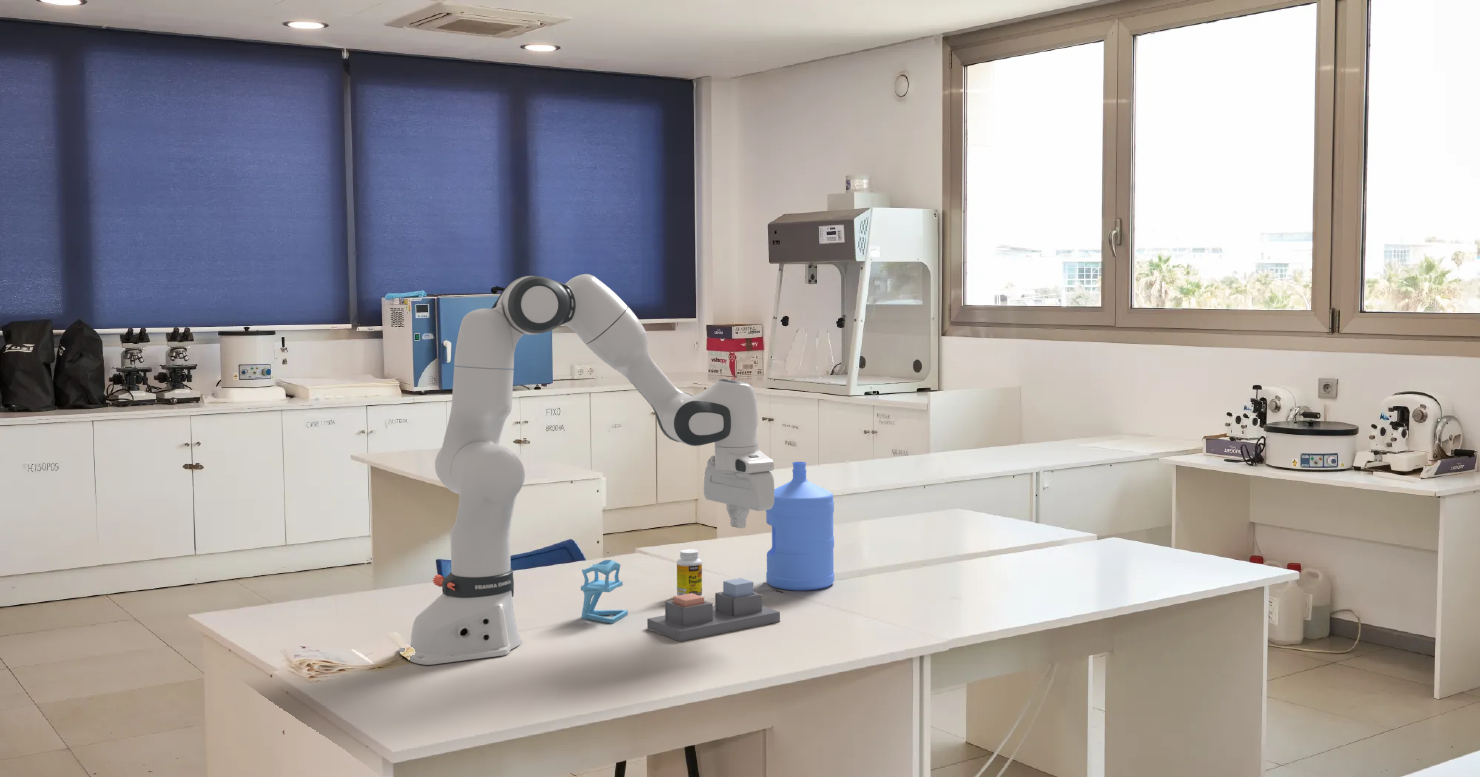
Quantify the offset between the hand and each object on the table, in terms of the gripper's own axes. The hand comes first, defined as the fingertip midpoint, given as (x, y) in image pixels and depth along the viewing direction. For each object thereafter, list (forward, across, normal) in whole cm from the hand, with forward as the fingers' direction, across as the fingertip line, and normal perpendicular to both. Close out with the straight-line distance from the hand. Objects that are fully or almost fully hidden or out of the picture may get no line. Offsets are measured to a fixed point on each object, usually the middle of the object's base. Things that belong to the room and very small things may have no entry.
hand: (738, 527), depth 246 cm
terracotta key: (+15, 0, -12) cm, 20 cm away
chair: (+19, -19, -21) cm, 34 cm away
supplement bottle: (+19, -23, +3) cm, 30 cm away
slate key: (+14, 0, 0) cm, 14 cm away
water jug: (+20, -18, +30) cm, 40 cm away
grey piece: (+19, 0, -6) cm, 20 cm away
